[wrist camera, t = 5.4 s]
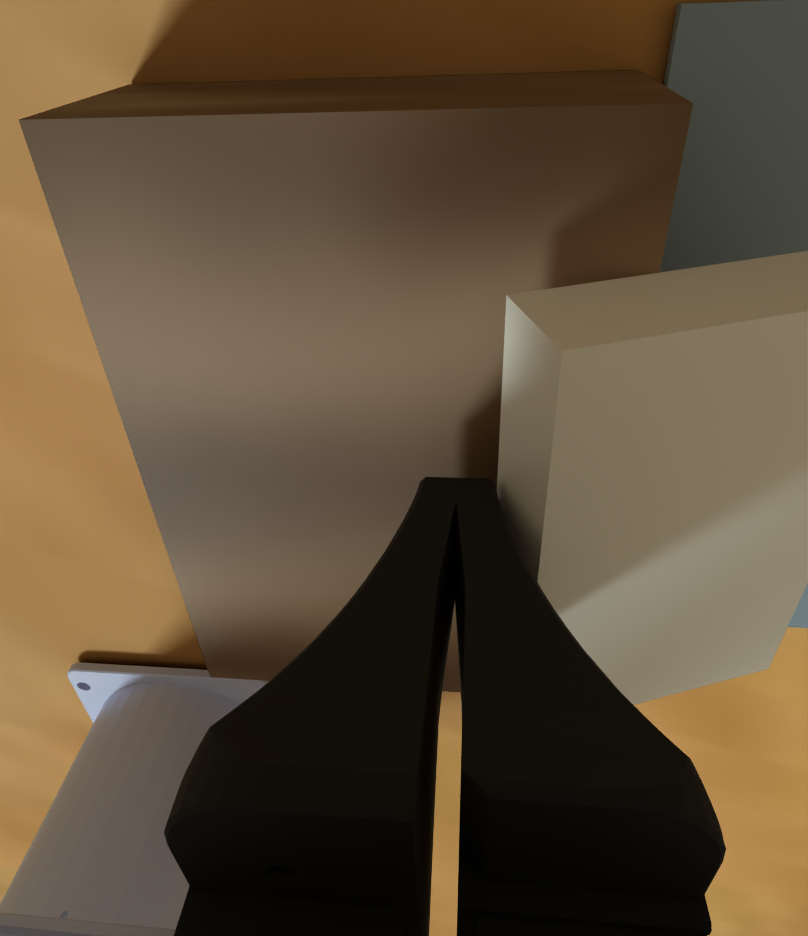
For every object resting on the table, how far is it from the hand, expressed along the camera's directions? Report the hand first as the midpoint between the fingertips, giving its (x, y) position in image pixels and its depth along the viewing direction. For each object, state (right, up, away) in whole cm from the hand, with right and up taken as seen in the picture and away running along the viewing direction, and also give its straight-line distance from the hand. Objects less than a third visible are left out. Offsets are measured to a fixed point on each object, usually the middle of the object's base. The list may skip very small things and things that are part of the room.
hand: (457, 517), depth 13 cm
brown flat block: (-1, +3, +4) cm, 5 cm away
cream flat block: (+4, +1, +1) cm, 4 cm away
